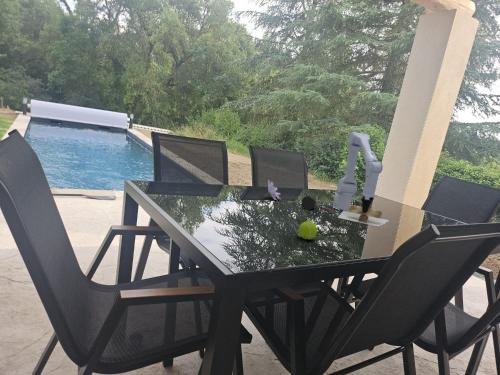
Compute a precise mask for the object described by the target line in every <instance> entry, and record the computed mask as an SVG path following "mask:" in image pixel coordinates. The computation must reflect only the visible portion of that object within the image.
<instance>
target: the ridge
mask: <svg viewBox="0 0 500 375" xmlns="http://www.w3.org/2000/svg"><path fill="white" fill-rule="evenodd" d="M367 220H368V216H366V215H360V217H359V221H361V222H366V223H367Z"/></svg>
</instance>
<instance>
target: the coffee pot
mask: <svg viewBox="0 0 500 375" xmlns="http://www.w3.org/2000/svg"><path fill="white" fill-rule="evenodd" d="M300 204H301V208H303V209H304V210H306V211H310V210H312V209H314V208H315V207H318V208H319V209H322V210H324V211H327V212H330V213H333V214H335V213H336V214H337V211H336V210H334V209H331V208H329V207H324V206H322V205H319V204H318V203H317V201H316V200H315V199H314V198H313V197H312V196H310V195H306V196H304V197H302V199H301V202H300Z"/></svg>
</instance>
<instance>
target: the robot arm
mask: <svg viewBox="0 0 500 375" xmlns="http://www.w3.org/2000/svg"><path fill="white" fill-rule="evenodd" d="M370 140H371V136H370V135H369V133H361V132H355V131H351V132H350V134H349V135H348V139H347V147H348V154H347V160H346V164H345V165H346V166H345V172H344V176H343V177H342V178H340V179H339V180H338V183H337V185H336V186H337V187H336V190H337V192H335V194H334V198H333V203H332V208H333V209H338V210H342V211H343V210H344V211H349V206H350V204H351V202H352V198H353V196H354V195H355V194H356V193H357V192H358V191H357V190H358V184H357V183H358V181H357V180H356V179H355V171H356V165H357V158H358V153H359V150H360V149H362V152H363V157H362V158H363V159H364V162H365V179H364V185H363V188H362V189H363V191H362V194H361V195H362V197H361V198H360V199H361V200H360V201H361V207H362V212H363V213H367V211H368V209H369V208H370V206H371V204H372V203H373V201H374V200H375V198H377V195H376V194H375V193H376V190H377V184H378V181H379V174H381V173H382V171H383V163H382V162H380V161H379V160H378V158H377V156H376V153H375V152H374V151H373V150H372V148H371V146H370V142H371V141H370ZM351 205H352V204H351Z"/></svg>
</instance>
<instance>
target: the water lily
mask: <svg viewBox="0 0 500 375" xmlns="http://www.w3.org/2000/svg"><path fill="white" fill-rule="evenodd" d="M267 191H268V192H267V193H266V194H265V195H264V196H263V198H266V197H267V196H268V195H269V194H270V197H272V199H274V201H275V200H277V199H279V200H282V198H281V197H280V195H281V193H280V192H279V191H278V187H275V186H274V182H273V181H270V179H267ZM276 197H277V198H276Z"/></svg>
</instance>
